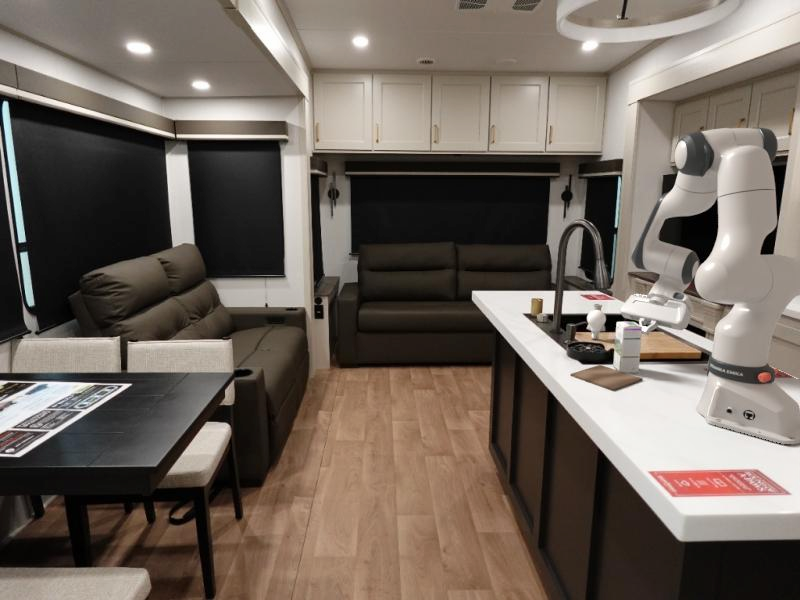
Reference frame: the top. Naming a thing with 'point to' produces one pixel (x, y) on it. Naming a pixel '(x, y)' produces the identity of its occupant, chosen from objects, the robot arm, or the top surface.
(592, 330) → the lightbulb
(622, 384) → the walnut board
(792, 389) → the top surface
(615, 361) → the syrup box
